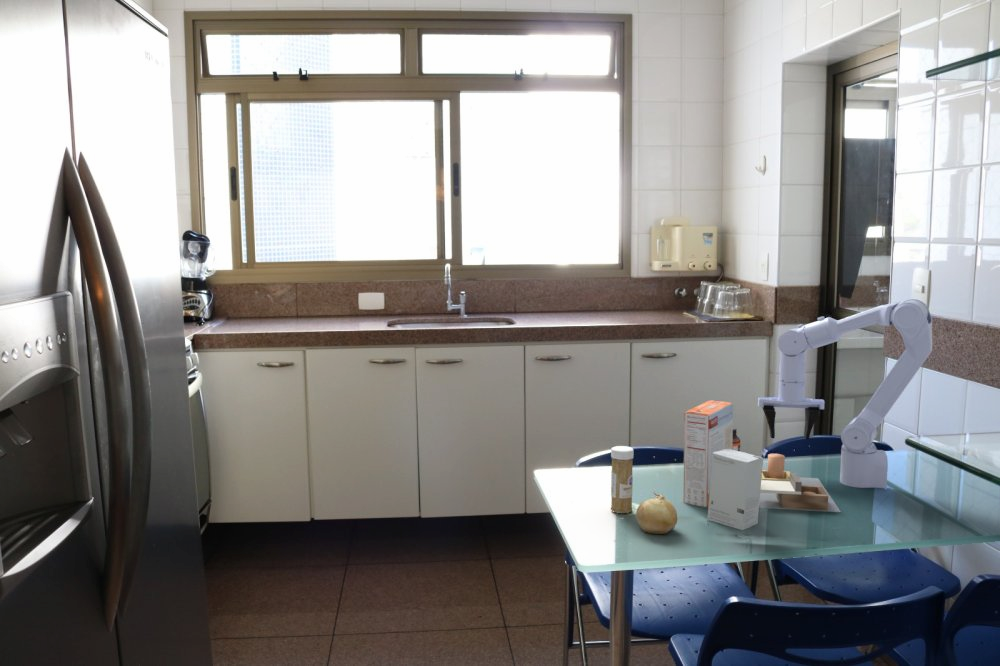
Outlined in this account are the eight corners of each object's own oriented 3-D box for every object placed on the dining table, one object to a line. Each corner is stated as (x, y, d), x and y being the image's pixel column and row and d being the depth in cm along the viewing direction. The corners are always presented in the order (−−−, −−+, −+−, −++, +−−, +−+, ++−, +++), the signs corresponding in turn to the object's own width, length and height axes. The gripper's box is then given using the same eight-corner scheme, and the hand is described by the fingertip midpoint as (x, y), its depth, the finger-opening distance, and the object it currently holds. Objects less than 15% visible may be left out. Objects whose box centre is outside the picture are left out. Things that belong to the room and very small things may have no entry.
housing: (820, 499, 180) (821, 485, 179) (827, 510, 173) (828, 496, 172) (776, 497, 181) (776, 483, 181) (781, 508, 174) (782, 494, 174)
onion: (684, 535, 163) (685, 500, 162) (646, 540, 160) (647, 504, 159) (665, 521, 170) (666, 487, 169) (628, 525, 168) (629, 491, 167)
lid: (795, 484, 180) (795, 472, 180) (801, 494, 173) (801, 482, 173) (756, 482, 181) (756, 470, 181) (760, 492, 175) (761, 480, 174)
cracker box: (706, 490, 189) (708, 398, 187) (732, 495, 186) (735, 402, 183) (680, 507, 178) (683, 410, 175) (708, 513, 175) (711, 414, 172)
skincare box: (706, 525, 168) (708, 452, 166) (723, 518, 172) (725, 446, 170) (744, 536, 162) (747, 461, 160) (760, 529, 166) (763, 455, 164)
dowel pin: (782, 479, 193) (783, 454, 192) (784, 484, 190) (785, 458, 189) (766, 478, 194) (767, 453, 193) (767, 483, 191) (768, 457, 190)
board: (817, 483, 194) (818, 471, 194) (840, 517, 172) (841, 504, 172) (745, 480, 197) (746, 468, 197) (759, 513, 175) (759, 500, 174)
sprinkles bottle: (630, 515, 173) (631, 451, 172) (608, 513, 175) (609, 449, 173) (634, 508, 178) (635, 446, 176) (612, 506, 179) (613, 444, 177)
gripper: (821, 378, 199) (818, 434, 201) (757, 376, 201) (754, 432, 203) (827, 384, 192) (824, 442, 194) (761, 382, 195) (758, 439, 196)
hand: (789, 437), depth 198 cm, fingers open, 7 cm apart
